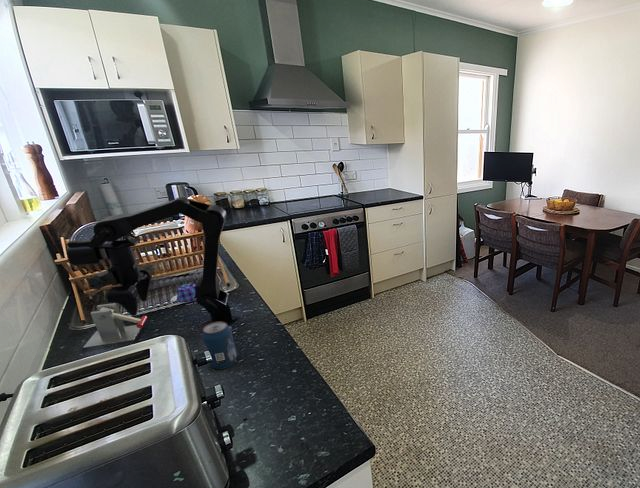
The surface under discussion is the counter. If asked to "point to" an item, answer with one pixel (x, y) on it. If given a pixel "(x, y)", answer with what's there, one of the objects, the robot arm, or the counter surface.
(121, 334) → the switch bracket
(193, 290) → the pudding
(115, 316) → the switch lever
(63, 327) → the counter surface
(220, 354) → the soda can
